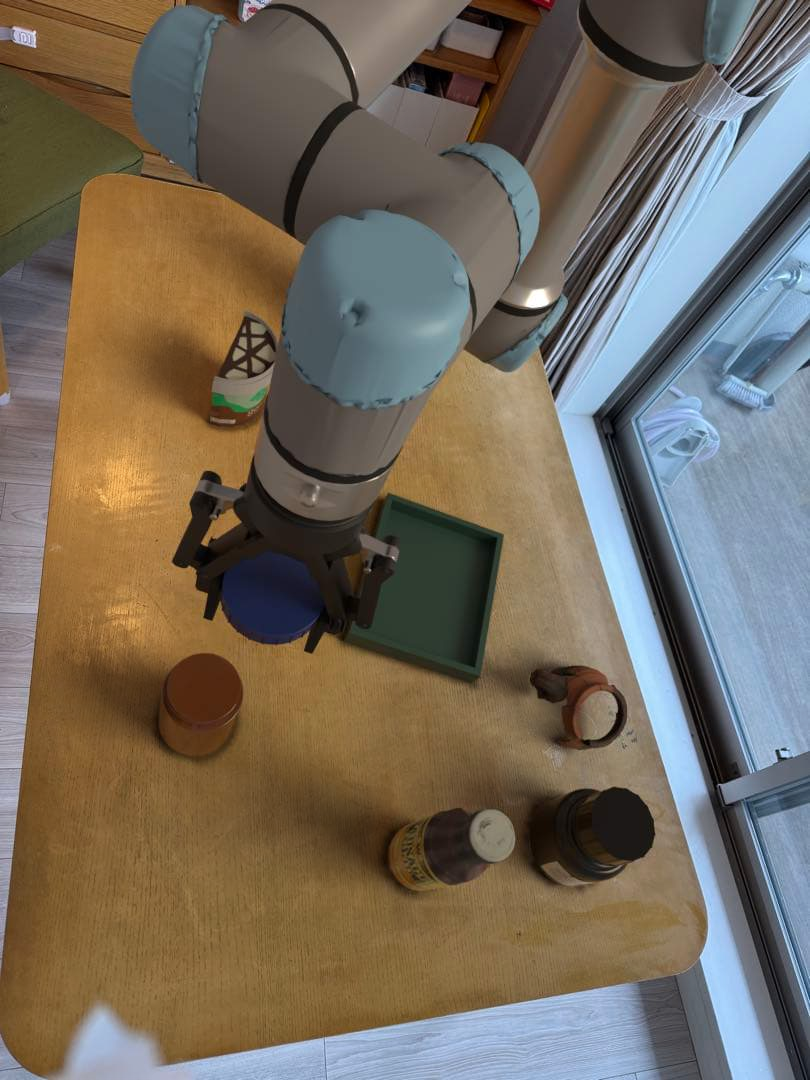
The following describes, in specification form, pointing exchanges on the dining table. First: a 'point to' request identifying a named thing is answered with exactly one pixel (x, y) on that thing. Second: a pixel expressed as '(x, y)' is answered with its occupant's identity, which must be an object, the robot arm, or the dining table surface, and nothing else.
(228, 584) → the lid
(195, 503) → the robot arm
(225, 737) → the jar
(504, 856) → the sauce bottle
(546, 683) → the pottery mug
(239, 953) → the dining table surface
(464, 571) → the tray
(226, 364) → the food container
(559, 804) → the ink bottle
